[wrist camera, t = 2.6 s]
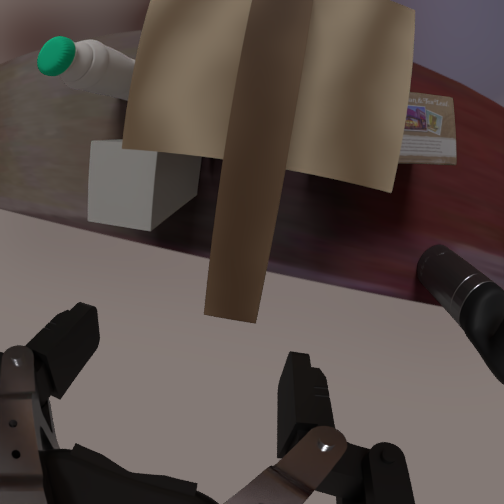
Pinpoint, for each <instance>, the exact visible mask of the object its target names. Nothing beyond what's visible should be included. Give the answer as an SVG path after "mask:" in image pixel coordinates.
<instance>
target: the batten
mask: <svg viewBox="0 0 504 504" xmlns="http://www.w3.org/2000/svg"><path fill="white" fill-rule="evenodd" d="M312 7H313V0H252V3H251V7H250V12H249V17H248V21H247V26H246V31H245V36H244V41H243V46H242V51H241V57H240V62H239V67H238V73H237V78H236V84H235V89H234V95H233V101H232V107H231V113H230V119H229V125H228V131H227V137H226V144H225V150H224V157H223V163H222V170H221V177H220V184H219V191H218V198H217V206H216V213H215V221H214V229H213V237H212V245H211V254H210V262H209V271H208V280H207V290H206V299H205V309H204V315H209V316H214V317H220V318H226V319H231V320H237V321H244V322H250V323H256V320H257V315H258V310H259V304H260V300H261V295H262V290H263V285H264V280H265V275H266V270H267V265H268V260H269V254H270V249H271V244H272V239H273V234H274V228H275V223H276V218H277V212H278V207H279V202H280V196H281V191H282V185H283V180H284V174H285V169H286V163H287V158H288V152H289V147H290V141H291V135H292V129H293V124H294V118H295V112H296V106H297V100H298V94H299V88H300V82H301V76H302V70H303V64H304V58H305V52H306V46H307V39H308V33H309V26H310V20H311V13H312Z"/></svg>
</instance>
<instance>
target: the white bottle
mask: <svg viewBox="0 0 504 504" xmlns="http://www.w3.org/2000/svg"><path fill="white" fill-rule="evenodd" d="M37 63H38V64H37V65H38V69H39V71H40V72H41V73H43V74H44V75H48V76H59V77H60V78H61V79H62V81H63V82H64V84H65V85H66V86H68V87H69V88H71V89H74V90H84V91H87V92H91V93H95V94H100V95H106V96H111V97H114V98H118V99H123V100H126V101H128V97H129V91H130V85H131V80H132V75H133V69H134V65H135V60H134V59H131V58H128V57H127V56H126V55H124V54H122V53H120V52H119V51H117V50H115V49H112V48H110V47H108V46H105V45H103V44H102V43H101V42H99V41H96V40H84V41H80V42H76V43H75V42H73V41H72V40H71V39H69V38H66V37H62V36H58V37H54V38H52V39H50V40H49V41H48V42H46V43H45V45H44V46H43V47H42V49H41V50H40V53H39V56H38V59H37Z"/></svg>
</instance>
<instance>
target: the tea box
mask: <svg viewBox="0 0 504 504" xmlns="http://www.w3.org/2000/svg"><path fill="white" fill-rule="evenodd" d="M398 163H399V164H440V165H456V133H455V117H454V105H453V98H450V97H444V96H437V95H430V94H422V93H413V92H409V100H408V107H407V114H406V121H405V127H404V133H403V139H402V145H401V150H400V155H399V160H398Z"/></svg>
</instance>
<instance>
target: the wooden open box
mask: <svg viewBox="0 0 504 504" xmlns="http://www.w3.org/2000/svg"><path fill="white" fill-rule="evenodd" d="M251 3H252V0H151V1H150V4H149V8H148V12H147V15H146V19H145V22H144V26H143V30H142V34H141V38H140V42H139V46H138V51H137V55H136V60H135V65H134V69H133V75H132V80H131V85H130V91H129V97H128V103H127V110H126V117H125V124H124V132H123V141H122V149H131V150H144V151H156V152H167V153H176V154H186V155H194V156H203V157H210V158H218V159H223V157H224V150H225V144H226V137H227V131H228V125H229V119H230V113H231V107H232V101H233V95H234V89H235V84H236V78H237V73H238V67H239V62H240V57H241V51H242V46H243V41H244V36H245V31H246V26H247V21H248V17H249V12H250V7H251ZM414 30H415V10H413V9H410V8H408V7H405V6H403V5H401V4H398V3H395V2H392V1H390V0H313V7H312V13H311V20H310V26H309V33H308V39H307V46H306V52H305V58H304V64H303V70H302V76H301V82H300V88H299V94H298V100H297V106H296V112H295V118H294V124H293V129H292V135H291V141H290V147H289V152H288V158H287V163H286V170H292V171H297V172H302V173H307V174H312V175H317V176H322V177H327V178H331V179H336V180H340V181H345V182H349V183H353V184H357V185H362V186H366V187H370V188H374V189H378V190H382V191H385V192H389V193H392V189H393V184H394V180H395V175H396V170H397V165H398V160H399V155H400V150H401V145H402V139H403V133H404V127H405V121H406V114H407V107H408V100H409V92H410V83H411V73H412V62H413V49H414Z"/></svg>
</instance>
